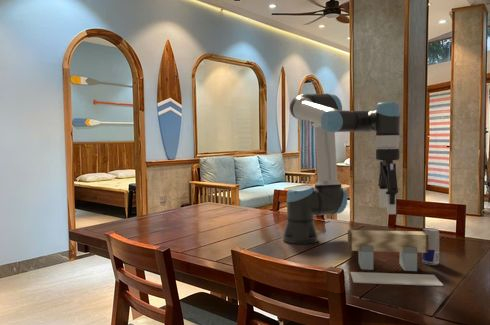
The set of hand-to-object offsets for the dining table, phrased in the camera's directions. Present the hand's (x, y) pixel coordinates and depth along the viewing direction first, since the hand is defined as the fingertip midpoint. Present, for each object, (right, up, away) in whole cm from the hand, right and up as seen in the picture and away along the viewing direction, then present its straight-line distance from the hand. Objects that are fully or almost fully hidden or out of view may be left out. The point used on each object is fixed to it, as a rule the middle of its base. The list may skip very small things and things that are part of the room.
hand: (387, 210), depth 138 cm
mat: (-2, -20, -11) cm, 23 cm away
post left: (-7, -20, +2) cm, 21 cm away
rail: (0, -14, +1) cm, 14 cm away
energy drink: (+17, -19, +5) cm, 26 cm away
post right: (+7, -20, 0) cm, 21 cm away
